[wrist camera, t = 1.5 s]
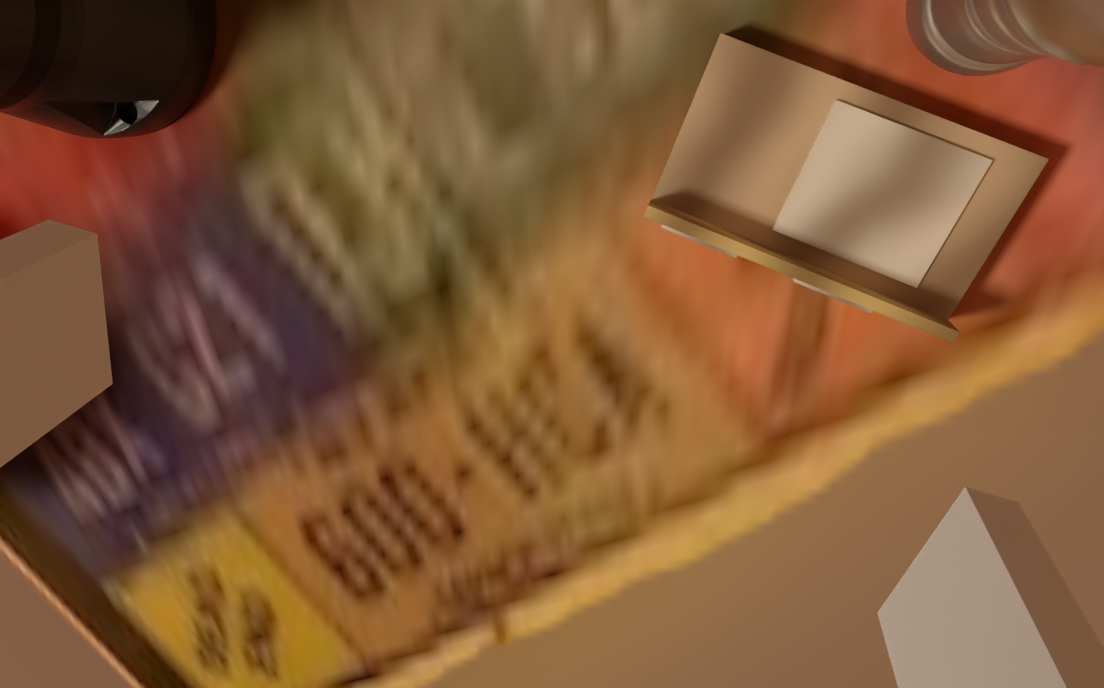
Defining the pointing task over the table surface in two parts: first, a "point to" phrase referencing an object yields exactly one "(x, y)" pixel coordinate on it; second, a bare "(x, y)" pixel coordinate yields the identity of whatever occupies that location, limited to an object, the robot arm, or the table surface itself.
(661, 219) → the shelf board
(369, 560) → the table surface
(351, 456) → the table surface
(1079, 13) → the plastic bottle
